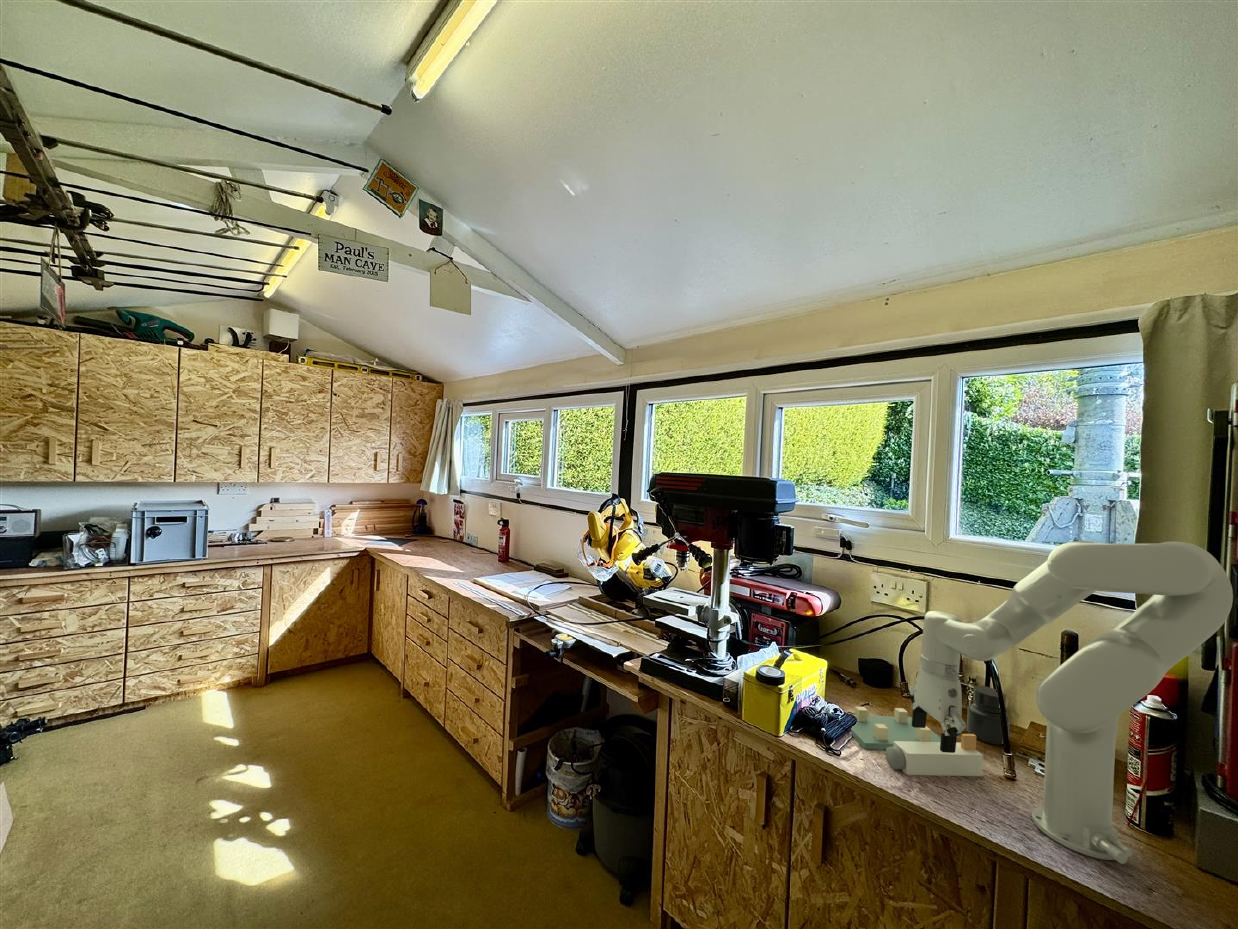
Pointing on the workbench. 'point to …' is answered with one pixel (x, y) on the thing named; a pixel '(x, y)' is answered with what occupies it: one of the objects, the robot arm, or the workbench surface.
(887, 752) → the block with grey endcap
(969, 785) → the workbench surface
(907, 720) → the jig
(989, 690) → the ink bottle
